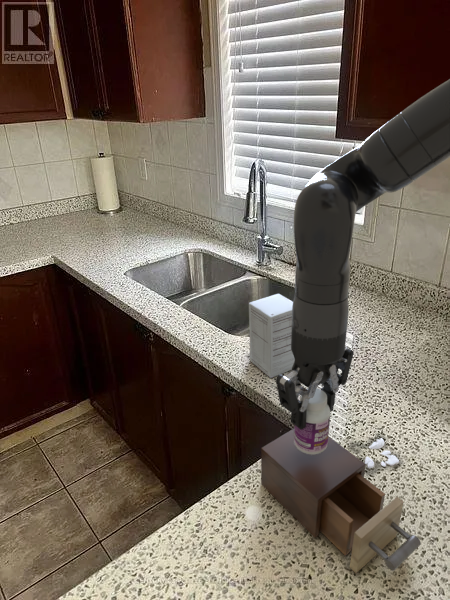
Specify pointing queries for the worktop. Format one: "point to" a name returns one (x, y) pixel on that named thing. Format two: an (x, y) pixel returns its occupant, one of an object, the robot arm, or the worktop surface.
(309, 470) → the cabinet
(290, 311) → the supplement box
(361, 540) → the drawer
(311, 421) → the pill bottle
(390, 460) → the white lumpy pieces
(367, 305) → the worktop surface
